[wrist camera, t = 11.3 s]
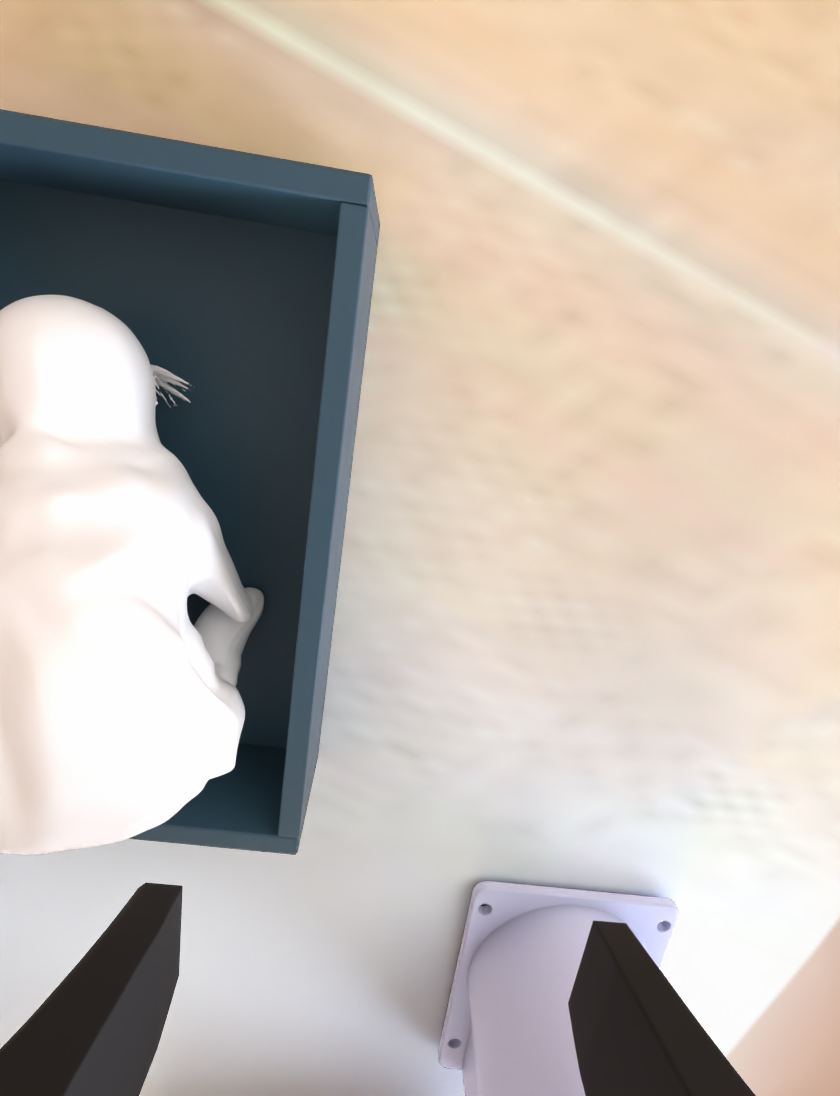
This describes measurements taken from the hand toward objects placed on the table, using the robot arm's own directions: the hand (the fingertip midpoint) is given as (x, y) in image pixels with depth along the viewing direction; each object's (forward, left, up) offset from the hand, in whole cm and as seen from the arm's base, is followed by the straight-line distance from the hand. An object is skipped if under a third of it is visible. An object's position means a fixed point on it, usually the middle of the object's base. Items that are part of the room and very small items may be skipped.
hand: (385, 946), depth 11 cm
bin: (+5, +8, -10) cm, 14 cm away
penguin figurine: (+4, +8, -10) cm, 13 cm away
